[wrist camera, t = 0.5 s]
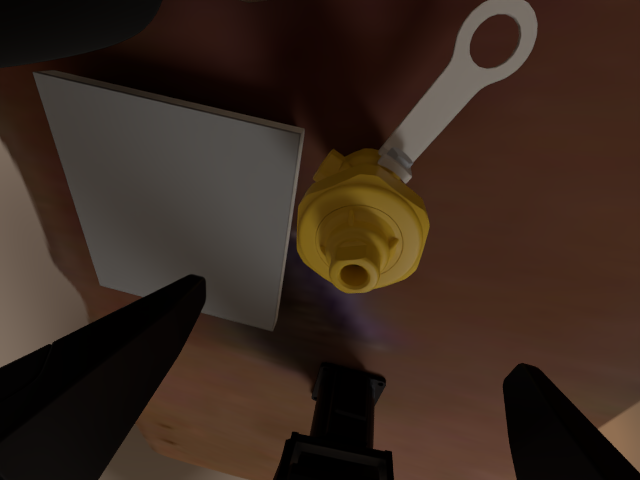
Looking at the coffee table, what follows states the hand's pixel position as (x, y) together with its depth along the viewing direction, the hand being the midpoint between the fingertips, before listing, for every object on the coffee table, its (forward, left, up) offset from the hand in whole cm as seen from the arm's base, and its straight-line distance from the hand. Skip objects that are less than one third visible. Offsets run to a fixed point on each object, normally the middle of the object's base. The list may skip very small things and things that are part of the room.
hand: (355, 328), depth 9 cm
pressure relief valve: (+3, -1, -12) cm, 13 cm away
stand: (-6, +12, -12) cm, 18 cm away
